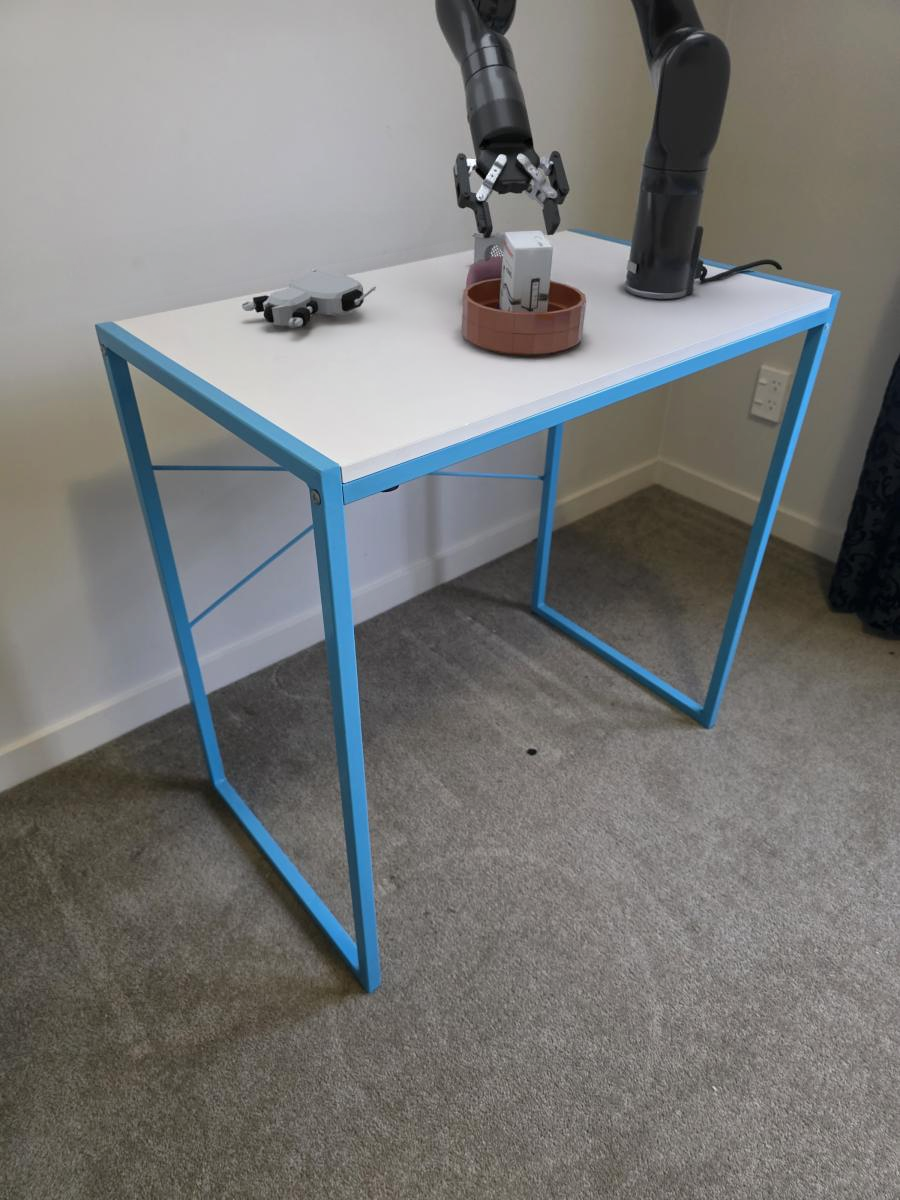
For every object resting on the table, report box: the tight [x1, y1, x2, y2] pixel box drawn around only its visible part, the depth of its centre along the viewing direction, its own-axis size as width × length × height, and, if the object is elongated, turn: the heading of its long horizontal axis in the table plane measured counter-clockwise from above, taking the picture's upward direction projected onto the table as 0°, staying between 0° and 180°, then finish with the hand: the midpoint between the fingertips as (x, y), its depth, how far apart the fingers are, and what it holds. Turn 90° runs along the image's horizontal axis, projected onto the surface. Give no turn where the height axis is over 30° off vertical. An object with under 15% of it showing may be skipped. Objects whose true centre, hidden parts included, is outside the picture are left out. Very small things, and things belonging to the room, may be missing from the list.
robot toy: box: [241, 269, 377, 329], centre depth 116 cm, size 12×4×15 cm
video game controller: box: [465, 255, 503, 289], centre depth 124 cm, size 10×5×7 cm, turn 84°
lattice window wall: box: [471, 230, 504, 264], centre depth 136 cm, size 12×2×6 cm, turn 49°
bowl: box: [461, 278, 587, 356], centre depth 111 cm, size 16×16×6 cm
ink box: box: [499, 230, 554, 313], centre depth 109 cm, size 9×5×12 cm, turn 6°
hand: (521, 233), depth 108 cm, fingers open, 8 cm apart
